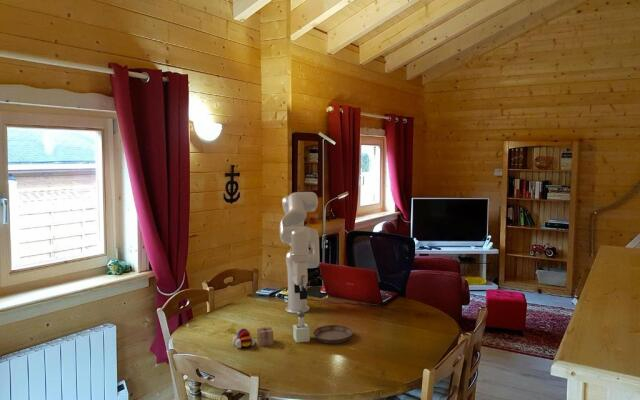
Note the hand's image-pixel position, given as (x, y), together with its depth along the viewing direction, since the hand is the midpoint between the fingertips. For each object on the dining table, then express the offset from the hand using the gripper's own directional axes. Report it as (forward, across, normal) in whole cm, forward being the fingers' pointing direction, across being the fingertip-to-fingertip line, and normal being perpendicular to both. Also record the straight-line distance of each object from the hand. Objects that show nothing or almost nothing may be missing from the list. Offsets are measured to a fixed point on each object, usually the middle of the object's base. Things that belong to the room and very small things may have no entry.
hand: (300, 295), depth 232 cm
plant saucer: (+20, +2, +14) cm, 25 cm away
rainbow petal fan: (+20, -1, -25) cm, 32 cm away
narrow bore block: (+20, -1, -16) cm, 25 cm away
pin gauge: (+20, 0, 0) cm, 20 cm away
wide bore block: (+20, 0, 0) cm, 20 cm away
